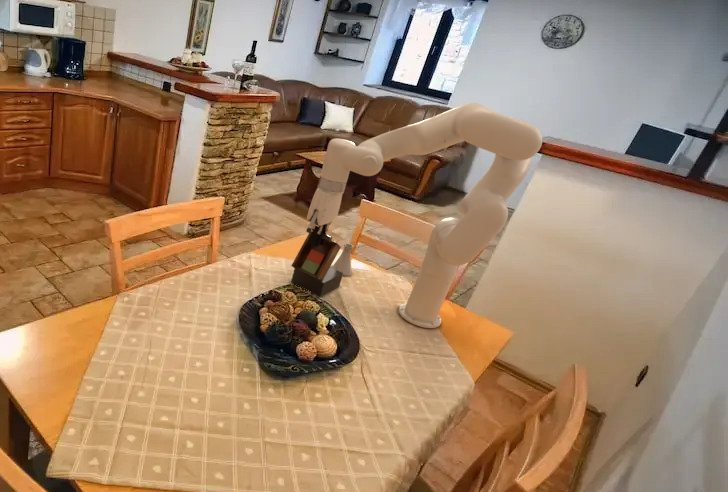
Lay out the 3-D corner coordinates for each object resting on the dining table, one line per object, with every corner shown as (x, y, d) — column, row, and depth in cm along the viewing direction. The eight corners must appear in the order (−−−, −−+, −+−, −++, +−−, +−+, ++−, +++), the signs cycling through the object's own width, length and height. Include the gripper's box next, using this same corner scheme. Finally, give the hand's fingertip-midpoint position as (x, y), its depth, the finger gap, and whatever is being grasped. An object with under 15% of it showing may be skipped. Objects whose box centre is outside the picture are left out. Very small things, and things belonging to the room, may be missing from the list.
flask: (350, 268, 176) (358, 243, 172) (352, 278, 170) (360, 251, 165) (329, 265, 176) (337, 239, 172) (331, 274, 170) (339, 247, 165)
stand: (310, 273, 168) (314, 259, 166) (339, 286, 162) (343, 273, 160) (290, 282, 160) (294, 268, 157) (319, 297, 154) (323, 283, 152)
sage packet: (308, 259, 155) (306, 258, 153) (321, 266, 152) (319, 264, 151) (302, 269, 155) (300, 268, 154) (315, 275, 152) (314, 274, 151)
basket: (315, 234, 157) (306, 225, 149) (341, 246, 152) (333, 237, 144) (296, 269, 157) (286, 261, 150) (321, 282, 152) (312, 275, 145)
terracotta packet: (313, 250, 155) (311, 248, 153) (326, 256, 152) (324, 254, 151) (307, 259, 155) (306, 258, 153) (321, 266, 152) (319, 264, 151)
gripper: (334, 177, 148) (319, 234, 157) (305, 183, 137) (290, 244, 146) (356, 185, 144) (339, 243, 153) (328, 192, 133) (311, 254, 142)
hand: (315, 243), depth 149 cm, fingers closed on basket
